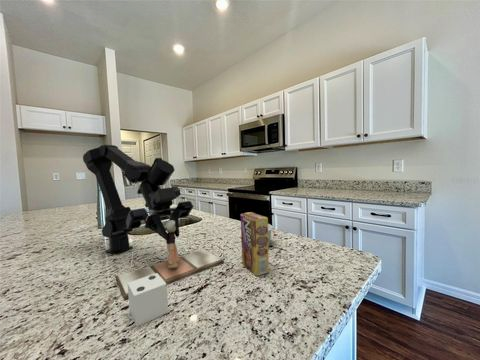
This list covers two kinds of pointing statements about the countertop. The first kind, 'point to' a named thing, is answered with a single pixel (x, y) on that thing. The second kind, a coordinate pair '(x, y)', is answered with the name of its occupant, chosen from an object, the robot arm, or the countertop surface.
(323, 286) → the countertop surface
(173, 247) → the grandmother figurine
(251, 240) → the candy box
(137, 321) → the white die
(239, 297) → the countertop surface
